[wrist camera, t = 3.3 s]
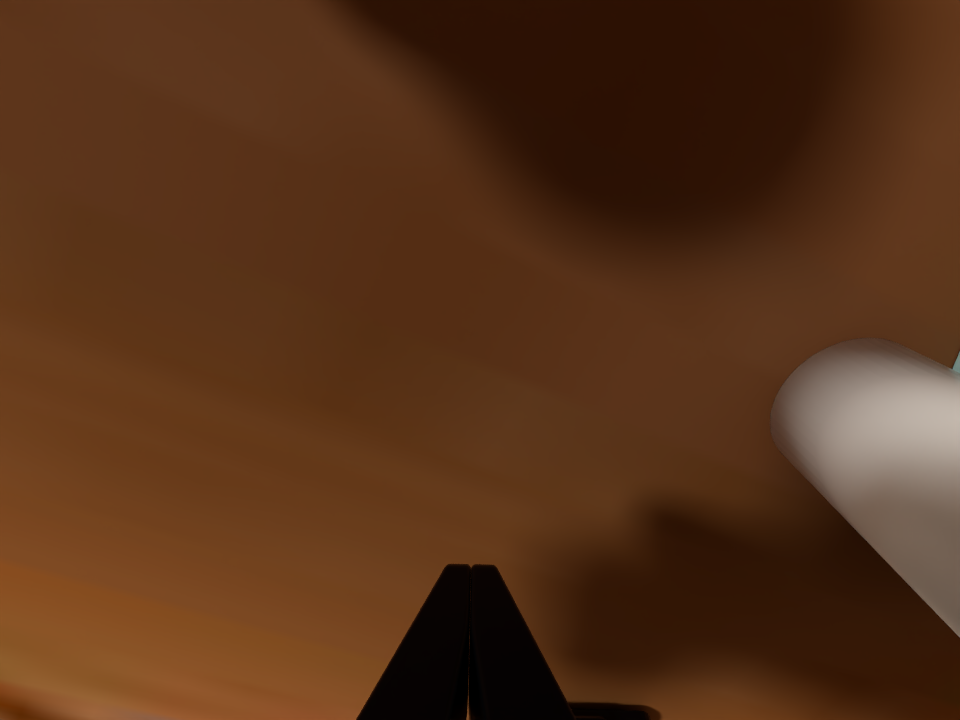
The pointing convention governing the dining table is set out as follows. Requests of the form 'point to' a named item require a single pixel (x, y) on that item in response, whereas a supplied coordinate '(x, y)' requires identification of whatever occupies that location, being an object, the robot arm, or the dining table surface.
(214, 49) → the dining table surface
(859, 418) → the bottle
